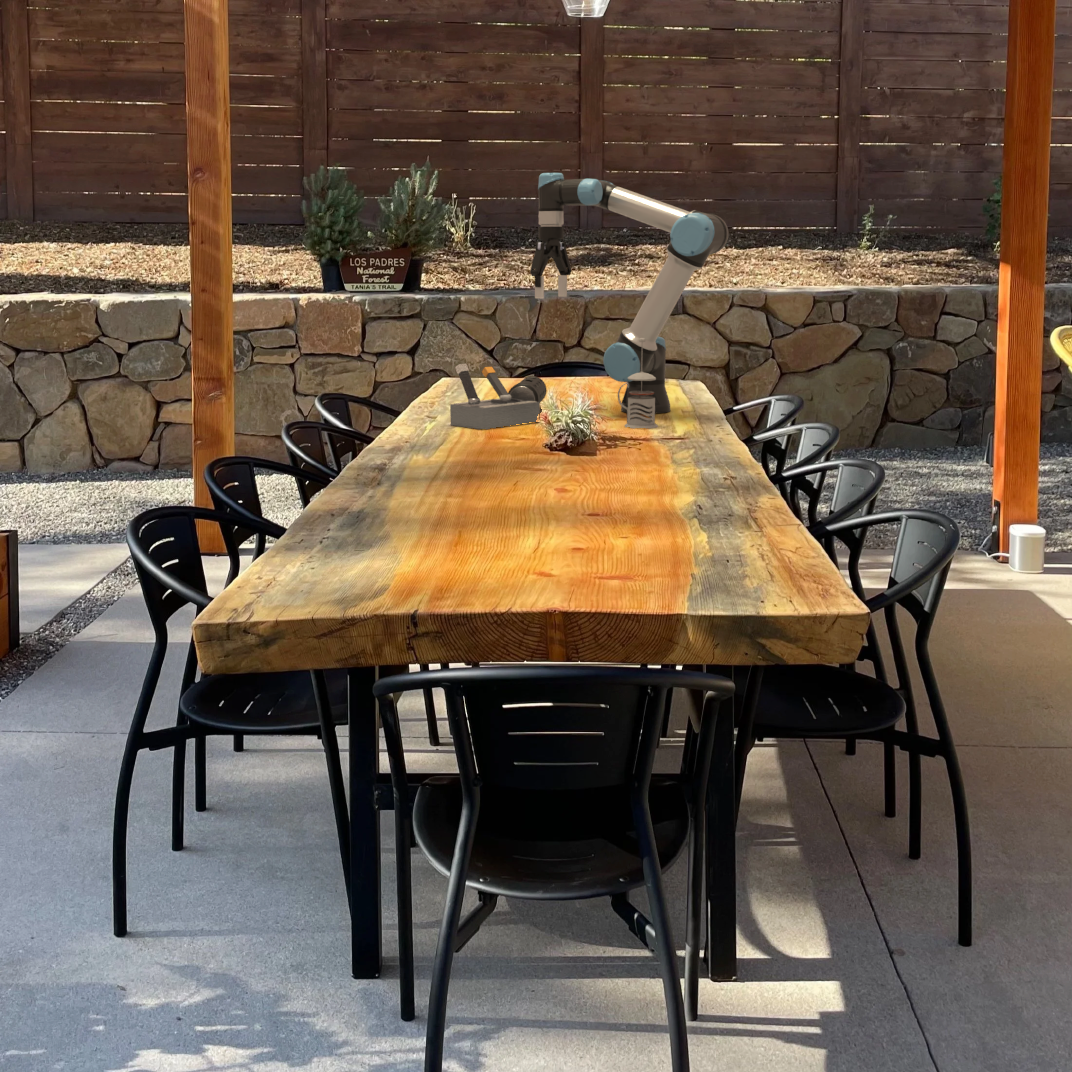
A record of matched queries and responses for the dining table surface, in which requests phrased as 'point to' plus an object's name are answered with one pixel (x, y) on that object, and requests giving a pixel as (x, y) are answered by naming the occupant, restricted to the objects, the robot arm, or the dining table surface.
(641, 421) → the french press
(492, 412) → the twin lever control box
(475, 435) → the dining table surface
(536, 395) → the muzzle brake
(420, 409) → the dining table surface
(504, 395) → the lever
